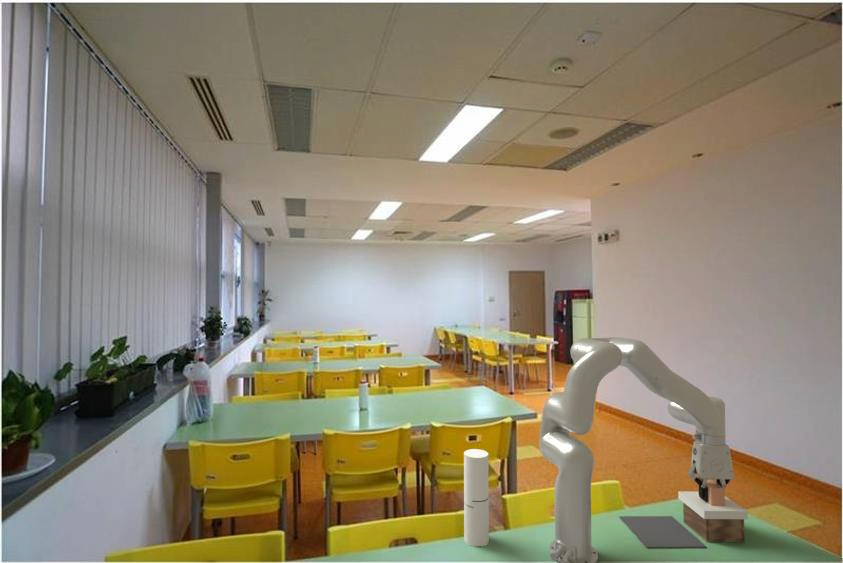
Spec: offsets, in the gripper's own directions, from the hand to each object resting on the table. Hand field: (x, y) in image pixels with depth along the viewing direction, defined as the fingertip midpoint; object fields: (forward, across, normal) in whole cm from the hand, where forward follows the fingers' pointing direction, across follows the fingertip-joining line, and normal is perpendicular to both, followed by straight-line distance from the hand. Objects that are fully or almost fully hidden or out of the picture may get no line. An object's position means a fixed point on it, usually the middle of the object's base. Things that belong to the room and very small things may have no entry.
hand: (711, 499), depth 132 cm
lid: (+3, 0, 0) cm, 3 cm away
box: (+10, 0, 0) cm, 10 cm away
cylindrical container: (+11, -72, -4) cm, 73 cm away
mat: (+10, -16, 0) cm, 18 cm away
